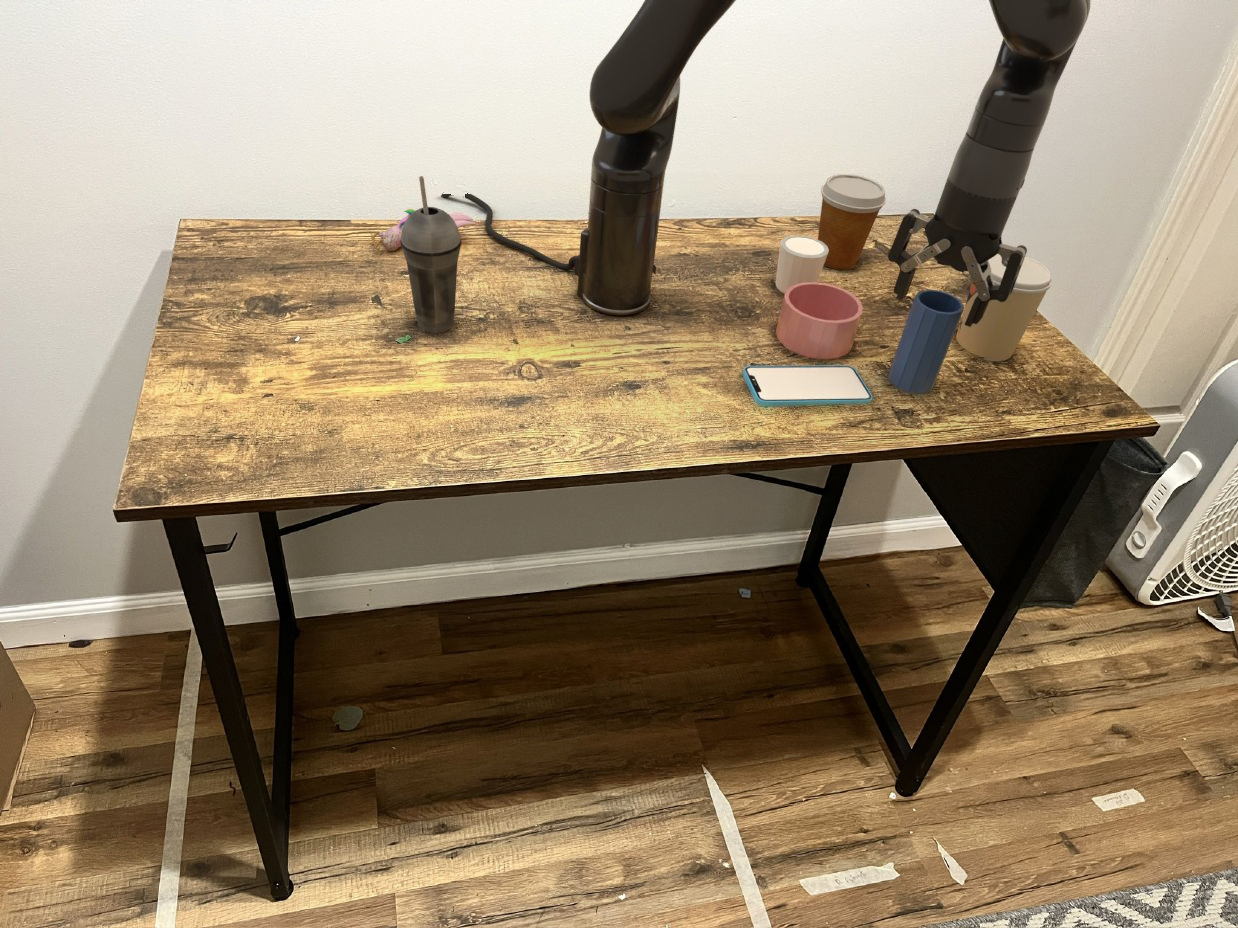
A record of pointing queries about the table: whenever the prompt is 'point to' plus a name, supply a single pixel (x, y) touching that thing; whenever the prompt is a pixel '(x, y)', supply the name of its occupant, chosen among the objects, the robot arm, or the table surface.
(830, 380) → the smartphone
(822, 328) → the pink cup
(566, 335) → the table surface
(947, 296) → the blue cup
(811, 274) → the white cylinder
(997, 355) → the coffee cup
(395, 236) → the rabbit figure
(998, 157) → the robot arm
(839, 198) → the disposable coffee cup
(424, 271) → the beverage cup
